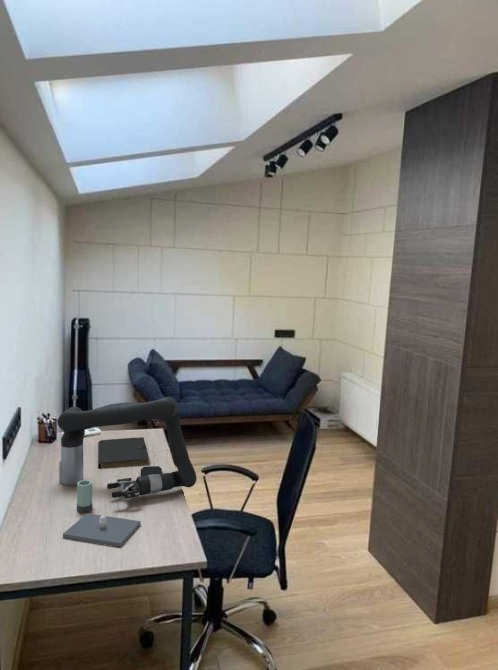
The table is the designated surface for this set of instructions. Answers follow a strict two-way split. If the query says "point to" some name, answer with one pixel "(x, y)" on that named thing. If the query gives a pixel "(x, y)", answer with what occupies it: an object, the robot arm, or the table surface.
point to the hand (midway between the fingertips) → (109, 490)
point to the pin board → (102, 529)
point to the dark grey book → (122, 453)
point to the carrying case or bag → (150, 470)
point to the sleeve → (84, 496)
